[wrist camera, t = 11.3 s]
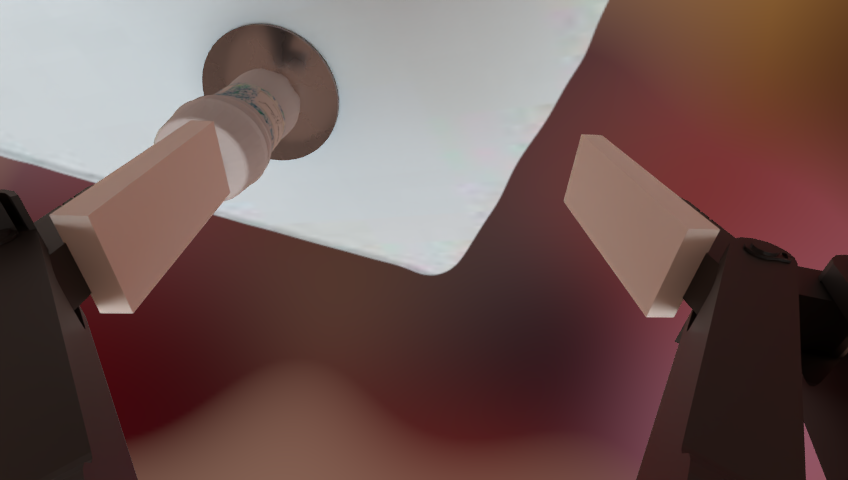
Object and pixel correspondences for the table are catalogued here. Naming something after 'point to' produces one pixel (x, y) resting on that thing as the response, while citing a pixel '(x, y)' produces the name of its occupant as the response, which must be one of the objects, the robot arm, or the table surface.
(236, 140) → the bottle
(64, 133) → the table surface
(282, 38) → the flange disc
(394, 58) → the table surface
